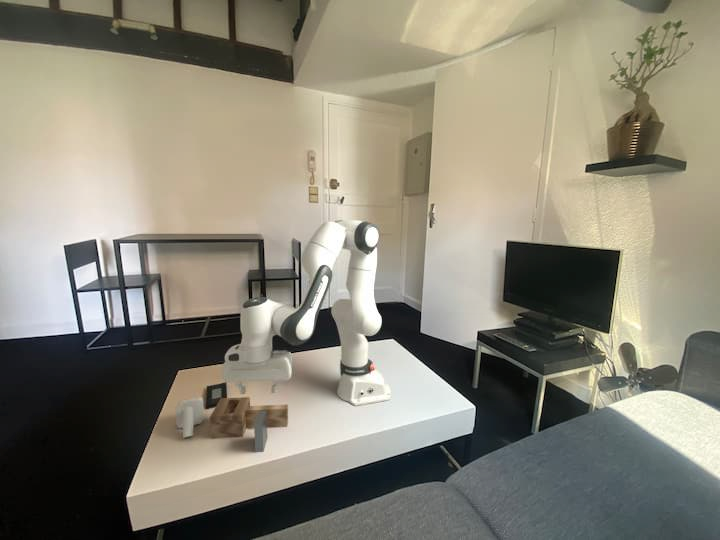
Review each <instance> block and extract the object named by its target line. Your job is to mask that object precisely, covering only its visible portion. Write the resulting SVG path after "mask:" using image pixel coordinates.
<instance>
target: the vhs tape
mask: <svg viewBox="0 0 720 540" xmlns="http://www.w3.org/2000/svg"><path fill="white" fill-rule="evenodd" d="M227 389H228V386H227V382H225V381H224V382H222V383H216V384H210V385H206V394H205V409H206V410H208V409H213V408H214V409H215V407H216V406H217V404H218V402H219V401H220V399H221V398H228V390H227Z"/></svg>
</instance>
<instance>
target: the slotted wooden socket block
mask: <svg viewBox="0 0 720 540" xmlns="http://www.w3.org/2000/svg"><path fill="white" fill-rule="evenodd" d="M258 411H266V412H267V429H268V428H269V429H271V428H287V427H288V424H289V404H288V403H287V404H269V405H267V404H265V405H251V398H250V396H245V397H243V396H241V397H239V396H238V397H227V398H221V399H220V401H219V402H218V404H217V406H216V407H214V410H213V411H212V412H211V414H210V416H209V421H210V422H209V423H210V434H211V436H210V437H211V439H224V438H225V439H226V438H227V439H228V438H242V437H244V435H245V433H246V430H249V429H254V422H255V420H256V417H257V414H258Z"/></svg>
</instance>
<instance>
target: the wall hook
mask: <svg viewBox="0 0 720 540" xmlns="http://www.w3.org/2000/svg"><path fill="white" fill-rule="evenodd" d="M204 411H205V409H204V399H203V397H200V396H197V397H193V398H191V397H190V398H187V399H182V400H180V401H178V402H177V404H176V407H175V422H176V427H177V428H179V429H181V428H182V439H183V438H189V437H192V436H194V426H195V425H200V424H201V423H202V422H203V421H204V418H205V417H204V415H205V413H204Z"/></svg>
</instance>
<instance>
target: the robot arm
mask: <svg viewBox="0 0 720 540" xmlns="http://www.w3.org/2000/svg"><path fill="white" fill-rule="evenodd" d="M379 241H380V232H379V229H378V227H377V226H376V224H374V223H373V222H369V221H362V220H356V219H350V220H346V219H345V220H341V219H340V220H335V221H331V220H330V221H329V220H328V221H325V222H323V223H322V224H321V225H320V226H319V227H318V229H317V230H316V231H315V233H314V234H313V235H312V236H311V238H310V239H309V241H308V242H307V244H306V246H305V247H304V249H303V250H302V254H301V257H300V262H301V265H302V268H303V270H304V271H305V272H306V274H307V275H308V277H309V284H308V286H307V289H306V291H305V293H304V295H303V298H302V301H301V303H300V305H299V306H298V307H297V308H296V307H294V306H292V305H290V304H287V303H284V302H276V301H273V300H271V299H269V298H268V297H266V296H256V297H252V298H249V299H247V300H246V301H244V303H243V304H242V306H241V309H240V317H239V318H240V319H239V320H240V332H241V342H240V343H239V344H235V345H233V346H231V347H230V348H229V349H228V350H227V351H226V353H225V354H224V363H223V364H222V369H221V370H222V371H221V372H222V373H221V375H222V376H221V379H222V380H223V382H224V383H225V382H226V383H235V386H236V387H237V389H238V390H239V395H245V394H246V392H247V386H246V385H243V383H244V382H250V383H251V382H274V385H271V388H270V391H271V392H270V393H271V394H277V392H278V386H279V384H280V382H281V381H289V380H290V379H291V378H292V373H293V371H292V369H293V368H292V362H293V355H292V353H291V352H290V351H288V350H285V349H284V350H278V349H277V350H276V349H274V350H273V337H274V336H279V337H281V338H282V339H283V341H286V342H287V344H289V345H291V346H299V345H302V344H305V343H306V342H307V341H308V340H310V338H311V337H312V336H313V334H314V332H315V328H316V326H317V325H316V324H317V320H318V315H319V312H320V311H321V308H322V306H323V303H324V301H325V298H326V296H327V294H328V290H329V288H330V285H331V283H332V279H333V267H334V264H335V263H336V260H337V259H338V256H339V254H340V252H341V251H342V249H343V250H347V251H350V257H349V262H348V268H347V276H346V283H345V288H346V290H347V291H348V293H349V297H350V298H339V299H337V300H335V301H334V303H333V304H332V307H331V315H332V316H331V317H332V318H333V319H334V321H335V323H336V327H337V332H338V335H339V339H340V340H339V341H340V352H341V354H340V361H339V362H340V363H339V376H340V377H339V383H338V387H337V391H336V394H337V396H338V397H339V398H340V399H342V400H343V401H346V402H348V403H350V404H351V405H353V406H355V407H356V406H363V405H368V404H373V403H379V402H381V403H382V402H385V401H389V400H390V399H391V396H392V392H391V388H390V386H389V384H388V383H387V382H386V380H385V378H384V375H383V374H382V373H381V372H380V371H378V370H377V369H376V366H375V365H374V363H373V361H372V359H371V358H369V342H368V339H367V338H366V336H368V337H371V336H374V335H376V334H377V333H378V332H379V331H380V329H381V327H382V323H383V322H382V316H381V314H380V313H379V310H378V308H377V303H376V302H375V301H376V300H375V295H374V294H375V293H374V291H375V281H376V274H377V265H378V249H377V246H378V244H379Z"/></svg>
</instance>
